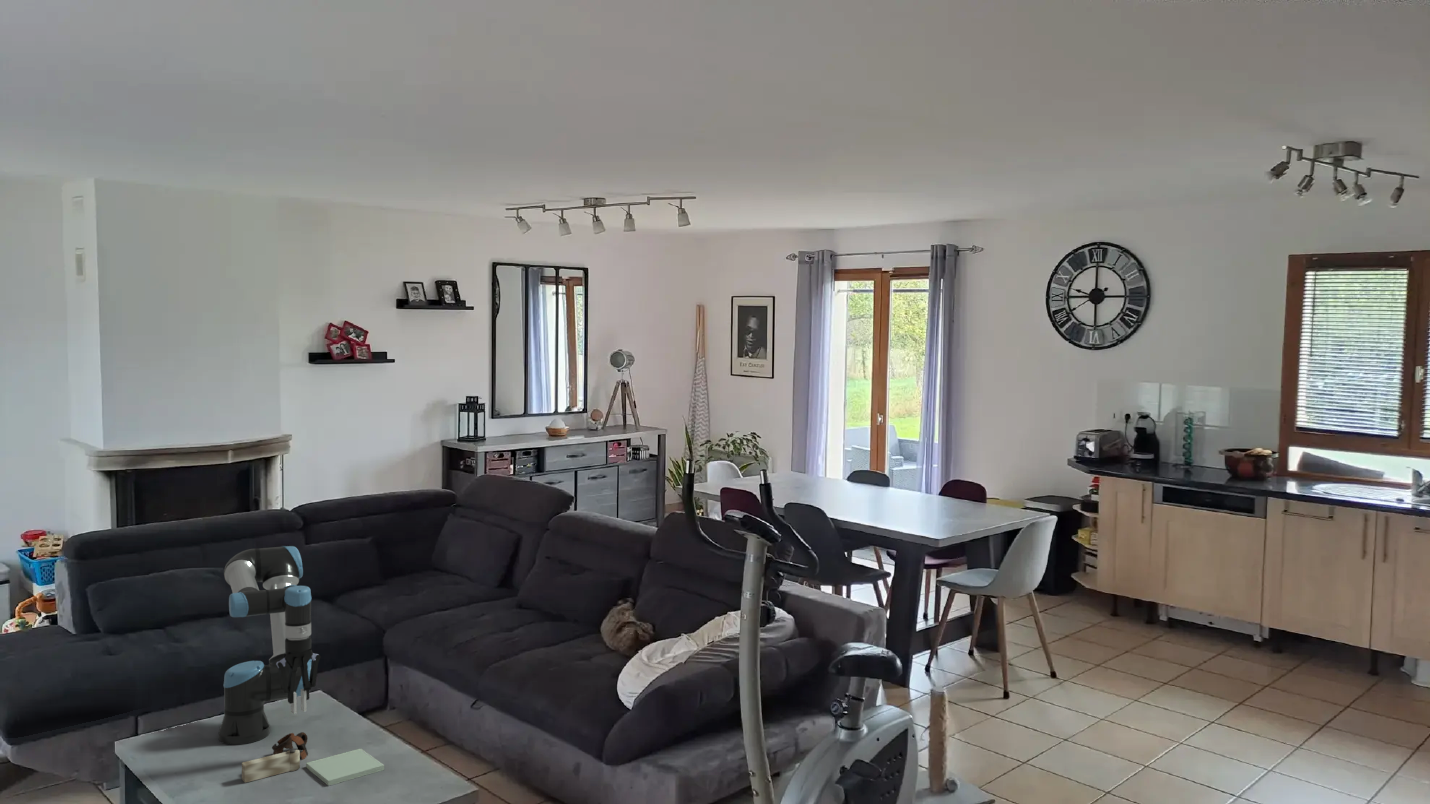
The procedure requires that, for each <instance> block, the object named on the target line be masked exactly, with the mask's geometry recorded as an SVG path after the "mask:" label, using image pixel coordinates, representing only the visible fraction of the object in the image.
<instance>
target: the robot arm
mask: <svg viewBox="0 0 1430 804" xmlns="http://www.w3.org/2000/svg"><path fill="white" fill-rule="evenodd" d="M302 561H303V560H302V555H301V553H300V551H299V549H298V548H297V547H296V546H294V545H289V546H288V545H287V546H286V545H281V546H276V547H275V546H274V547H273V546H272V547H263V548H250V549H246V550H242V551H240V552H238V553H237V554H235V555H234V556H232V557H231V558H230V559H229V560H228V562H226V564H225V567H224V570H223V575H224V580H225V582H226V583H227V584H228V585H229V586H230V588H231V592H232V593H230V595H229V597H228V610H229V616H230V617H232V618H245V617H252V616H260V615H261V616H263V615H270V617H269V618H270V628H271V638H272V641H271V642H272V650H273V651H272V652H273V655H272V656H271V657H270V658H269V659H268V664H264V662H263V661H261V660H249V661H244V662H240V663H238V664H235V665H233V666H231V667H230V668H228V669H227V670H226V671H225V672H224V679H223V680H224V681H223V688H224V689H223V690H224V691H223V692H224V694H223V695H224V696H223V697H224V699H223V700H224V701H223V705H224V707H223V708H224V711H223V713H224V714H223V718H222V721H221V724H220V727H219V731H218V741H219V743H222V744H226V745H246V744H251V743H254V742H255V743H256V742H258V741H260V740H263V739H265V738H266V737H268V736H269V735H270V734H271V726H270V723H269V720H268V717H267V714H266V712H265V706H264V705H265V703H266V702H273V701H279V700H286V699H287V702H288V704H290V712H291V713H292V714H293V715H297V714H298V712H297V711H298V710H297V709H298V707H297V704H298V703H297V702H298V701H297V698H298V697H300V711H302V712H303V713H305V712H306V713H307V701H308V700H310V691H311V689H312V688H314V687H316V683H317V676H318V667H319V663H320V659H321V657H322V656H321V655H320V654H319V653H314V652H313V650H312V636H311V635H312V597H313V596H312V593H311V588H310V587H309V586H307V585H298V584H299V582H300V579H302V577H303V575H304V568H303V562H302ZM258 583H262V587H263V589H261V590H260V589H259V586H258Z"/></svg>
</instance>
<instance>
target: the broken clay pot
mask: <svg viewBox="0 0 1430 804" xmlns="http://www.w3.org/2000/svg"><path fill="white" fill-rule="evenodd" d="M276 742H277V743H274V744H273V745H272V747H271V749H272V750H273V752H272V755H275V754H279V753H283V752H284V749H286V750H288V749H289V750H291V749H294V746H293V743H295V745H296V747H297V750H299V751H300V758H301V759H300V760H304V759H306V758H307V756H309V753H308V752H309V751H308V749H307V746H306V745H307V744H308V743H307V742H308V735H307V733H306V732H299V733H297V734H296V735H295V733H293V732H291V733H288V734H286V735H284V736H283V737H281V738H280V739H279V740H277V741H276Z"/></svg>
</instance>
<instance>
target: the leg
mask: <svg viewBox="0 0 1430 804" xmlns="http://www.w3.org/2000/svg"><path fill="white" fill-rule="evenodd" d="M300 753H301V750H298V749H294V748H293V749H289V750H286V751H283V753H279V754H275V755H273V754H272V755H267V756H264V757H260V758H259V757H258V758H254V759H251V760H247V761H243V762H241V780H242V781H243V782H244V783H249V782H253V781H257V780H261V779H265V778H268V777H273V776H276V775H280V774H284V773H288V772H294V771H298V770H300V767H301V762H300V761H301V759H300V758H301V756H300Z"/></svg>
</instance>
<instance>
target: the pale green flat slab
mask: <svg viewBox="0 0 1430 804" xmlns="http://www.w3.org/2000/svg"><path fill="white" fill-rule="evenodd" d="M305 764H306V765H305V768H307V769H308V771H309V772H311V773H312V774H313V775H314V776H316V777H317V778H318V779H319V780H320V781H322V782H323V783H325V785H327V786H328V787H330V786H333V785H336V784H339V783H342V782H343V783H344V782H347V781H350V780H354V779H357V778H360V777H365V776H368V775H371V774H375V773H378V772H382V771H384V770H385V764H383V762H380V760H378V759H376V758H375V757H374V756H372V755H371V754H370V753H368V752H366V751H365V750H364V749H362V748H358V749H353V750H350V751H345V752H343V753H338V754H335V755H331V756H327V757H324V758H320V759H316V760H313V761H308V762H305Z"/></svg>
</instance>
